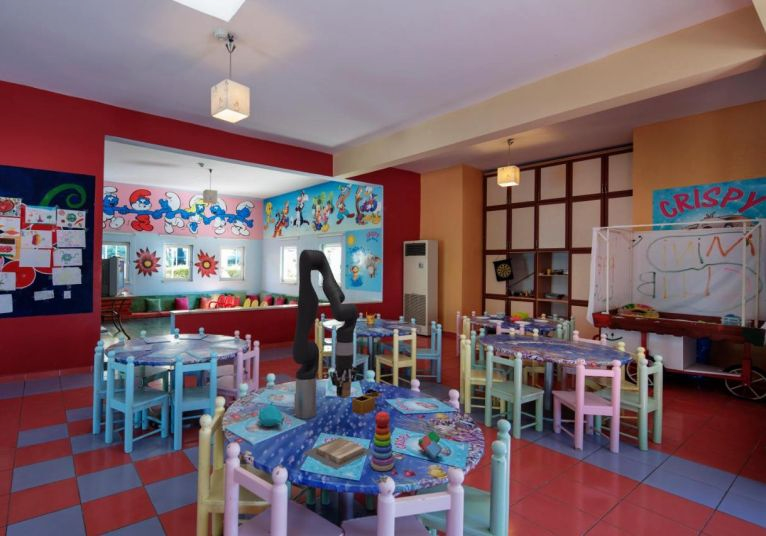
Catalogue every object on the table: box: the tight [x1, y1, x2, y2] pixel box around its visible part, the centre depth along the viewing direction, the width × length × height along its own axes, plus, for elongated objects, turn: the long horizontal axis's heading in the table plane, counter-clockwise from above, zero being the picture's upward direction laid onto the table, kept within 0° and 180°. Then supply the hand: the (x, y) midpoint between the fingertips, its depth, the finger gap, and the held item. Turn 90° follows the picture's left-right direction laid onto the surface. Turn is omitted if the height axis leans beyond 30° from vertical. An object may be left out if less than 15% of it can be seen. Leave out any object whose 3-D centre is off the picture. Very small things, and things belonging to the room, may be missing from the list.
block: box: [336, 379, 352, 399], centre depth 168 cm, size 4×4×6 cm
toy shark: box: [257, 401, 285, 427], centre depth 173 cm, size 10×18×11 cm, turn 49°
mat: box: [302, 436, 372, 470], centre depth 149 cm, size 18×18×1 cm
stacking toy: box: [370, 411, 395, 472], centre depth 140 cm, size 8×8×19 cm
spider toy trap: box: [351, 388, 383, 416], centre depth 196 cm, size 6×15×9 cm, turn 140°
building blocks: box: [417, 429, 442, 460], centre depth 150 cm, size 8×8×12 cm
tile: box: [317, 437, 365, 464], centre depth 148 cm, size 2×12×12 cm
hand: (343, 393), depth 169 cm, fingers closed on block, 4 cm apart
